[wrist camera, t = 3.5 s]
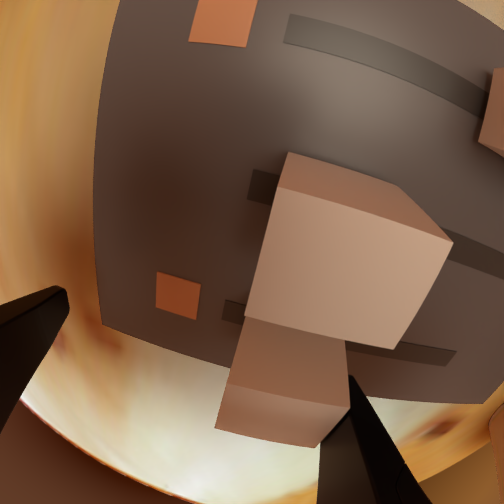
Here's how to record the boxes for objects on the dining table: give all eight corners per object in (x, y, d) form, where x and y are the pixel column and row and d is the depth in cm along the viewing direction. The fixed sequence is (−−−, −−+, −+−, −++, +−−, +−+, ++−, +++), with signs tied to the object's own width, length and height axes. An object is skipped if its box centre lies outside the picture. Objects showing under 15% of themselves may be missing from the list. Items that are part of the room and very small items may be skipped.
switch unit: (577, 135, 7) (616, 149, 4) (468, 367, 14) (482, 404, 11) (174, -28, 8) (138, -56, 5) (131, 288, 15) (101, 325, 12)
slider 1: (397, 185, 7) (454, 242, 4) (367, 263, 8) (393, 349, 5) (288, 151, 7) (276, 186, 4) (266, 235, 8) (243, 315, 5)
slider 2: (341, 318, 9) (350, 408, 6) (317, 365, 10) (314, 448, 7) (251, 295, 9) (226, 382, 6) (237, 346, 11) (214, 428, 8)
